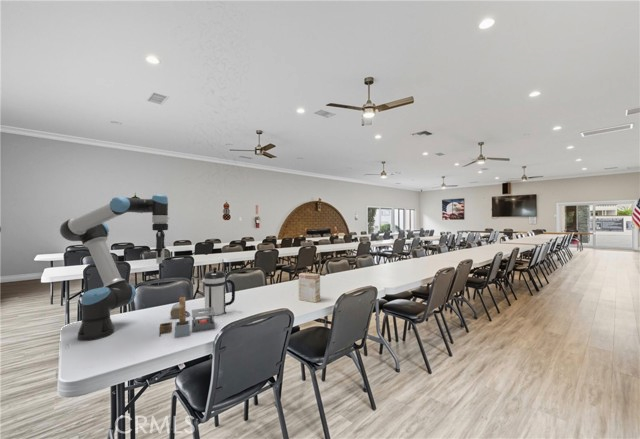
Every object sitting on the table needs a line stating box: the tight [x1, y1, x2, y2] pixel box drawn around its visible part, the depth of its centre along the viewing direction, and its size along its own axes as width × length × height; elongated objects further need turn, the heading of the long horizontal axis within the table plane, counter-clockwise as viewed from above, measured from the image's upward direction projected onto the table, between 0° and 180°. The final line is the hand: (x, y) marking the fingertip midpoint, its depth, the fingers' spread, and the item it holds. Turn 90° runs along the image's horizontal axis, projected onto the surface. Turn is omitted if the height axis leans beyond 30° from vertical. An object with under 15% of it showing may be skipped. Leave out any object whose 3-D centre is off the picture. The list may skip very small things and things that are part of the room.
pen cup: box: [174, 320, 191, 338], centre depth 146 cm, size 7×7×7 cm
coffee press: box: [201, 266, 236, 318], centre depth 180 cm, size 17×16×30 cm
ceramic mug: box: [169, 302, 190, 320], centre depth 177 cm, size 11×8×8 cm
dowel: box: [178, 296, 187, 325], centre depth 146 cm, size 3×3×20 cm
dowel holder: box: [159, 321, 173, 337], centre depth 150 cm, size 5×5×5 cm
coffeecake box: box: [298, 272, 321, 304], centre depth 211 cm, size 15×7×20 cm, turn 58°
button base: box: [191, 307, 216, 333], centre depth 156 cm, size 11×11×10 cm
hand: (160, 261), depth 158 cm, fingers open, 13 cm apart
